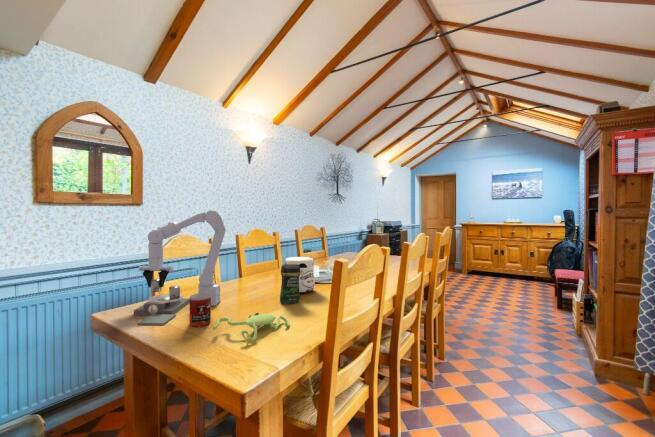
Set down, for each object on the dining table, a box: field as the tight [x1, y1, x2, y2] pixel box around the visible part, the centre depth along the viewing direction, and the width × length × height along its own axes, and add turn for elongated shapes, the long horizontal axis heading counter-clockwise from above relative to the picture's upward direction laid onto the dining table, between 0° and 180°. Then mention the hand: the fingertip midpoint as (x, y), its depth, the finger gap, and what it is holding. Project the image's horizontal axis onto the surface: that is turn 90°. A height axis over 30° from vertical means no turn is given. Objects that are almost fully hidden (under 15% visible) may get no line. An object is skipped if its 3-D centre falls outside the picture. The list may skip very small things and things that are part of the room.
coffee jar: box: [279, 263, 301, 305], centre depth 153 cm, size 10×8×19 cm
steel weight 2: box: [168, 285, 181, 299], centre depth 141 cm, size 4×4×5 cm
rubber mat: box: [137, 313, 177, 326], centre depth 125 cm, size 10×10×1 cm
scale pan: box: [147, 293, 183, 303], centre depth 141 cm, size 14×14×1 cm
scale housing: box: [133, 297, 190, 316], centre depth 140 cm, size 16×18×5 cm
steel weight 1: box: [149, 278, 163, 293], centre depth 141 cm, size 4×4×5 cm
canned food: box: [189, 293, 212, 328], centre depth 122 cm, size 8×8×11 cm
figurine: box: [212, 312, 291, 345], centre depth 117 cm, size 18×27×6 cm
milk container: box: [284, 256, 316, 294], centre depth 173 cm, size 17×17×18 cm
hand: (156, 286), depth 141 cm, fingers closed on steel weight 1, 4 cm apart
